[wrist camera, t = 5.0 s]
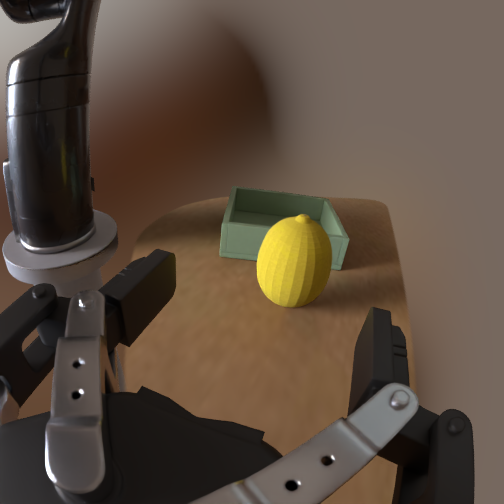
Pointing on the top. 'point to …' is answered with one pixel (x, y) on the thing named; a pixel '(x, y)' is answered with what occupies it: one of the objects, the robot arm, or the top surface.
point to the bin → (274, 221)
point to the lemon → (294, 261)
